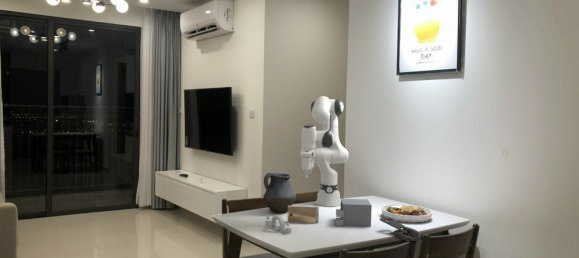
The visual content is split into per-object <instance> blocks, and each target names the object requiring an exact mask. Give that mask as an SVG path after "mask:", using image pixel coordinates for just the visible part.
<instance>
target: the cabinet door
mask: <svg viewBox="0 0 579 258" xmlns="http://www.w3.org/2000/svg"><path fill="white" fill-rule="evenodd" d="M319 214H320V207H319V206H311V205H310V206H307V205H306V206H304V205H292V206H288V212H287V223H299V224H300V223H301V224H302V223H305V224H306V223H307V224H319V216H320V215H319Z"/></svg>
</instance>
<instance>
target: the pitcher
mask: <svg viewBox="0 0 579 258" xmlns="http://www.w3.org/2000/svg"><path fill="white" fill-rule="evenodd" d="M290 178H291V174H289V173H282V172H281V173H279V172H267V173H266V174H265V175H264V178H263V186H264V189H265V192H264V193H263V197H262V198H263V200H264V202H265V204H266V206H267V207H268V209H269V211H270V212H271V213H274V214H286V213H288V206H293V203H295V201H296V199H297V194H296V193H295V191H294V190H293V188H292V186H291V183H290ZM269 179H270V182H269Z"/></svg>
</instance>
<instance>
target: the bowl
mask: <svg viewBox="0 0 579 258" xmlns="http://www.w3.org/2000/svg"><path fill="white" fill-rule="evenodd" d="M381 214H382V215H383V216H384V218H385V217H391V218H392V219H394V220H396V221H397V222H398V221H399V223H406V222H412V223H411V224H417V223H416V222H421V223H425V222H428V221H430V220H431V218H432V216H433V211H432V210H430V209H429V208H425V207H422V206H419V205H411V204H410V205H407V204H390V205H384V206H383V207H381ZM424 221H425V222H424ZM414 222H415V223H414Z"/></svg>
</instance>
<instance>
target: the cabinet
mask: <svg viewBox="0 0 579 258" xmlns="http://www.w3.org/2000/svg"><path fill="white" fill-rule="evenodd" d="M340 202H341V205H340V207H339V208H335V216H336V217H335V226H336V227H344V226H346V227H347V226H351V227H352V226H353V227H355V226H356V227H372V209H373V208H372V207H373V205H372V203H371V202H370V200H369V199H368V198H367V199H365V198H364V199H363V198H340Z"/></svg>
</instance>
